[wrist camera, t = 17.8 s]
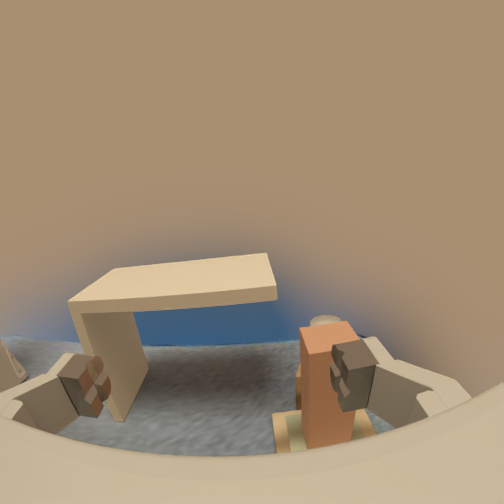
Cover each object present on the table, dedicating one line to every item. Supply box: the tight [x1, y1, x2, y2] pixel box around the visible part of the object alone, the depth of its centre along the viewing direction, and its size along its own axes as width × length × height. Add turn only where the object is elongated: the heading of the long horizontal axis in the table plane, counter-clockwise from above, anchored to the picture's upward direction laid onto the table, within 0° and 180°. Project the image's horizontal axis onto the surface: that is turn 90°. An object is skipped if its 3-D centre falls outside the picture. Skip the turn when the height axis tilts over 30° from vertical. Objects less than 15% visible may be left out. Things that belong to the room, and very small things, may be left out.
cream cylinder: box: [310, 315, 341, 326], centre depth 40 cm, size 4×4×9 cm
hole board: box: [272, 409, 376, 453], centre depth 21 cm, size 20×11×2 cm, turn 1°
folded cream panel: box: [68, 253, 278, 422], centre depth 37 cm, size 14×24×18 cm, turn 91°
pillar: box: [299, 321, 360, 449], centre depth 25 cm, size 4×4×13 cm
